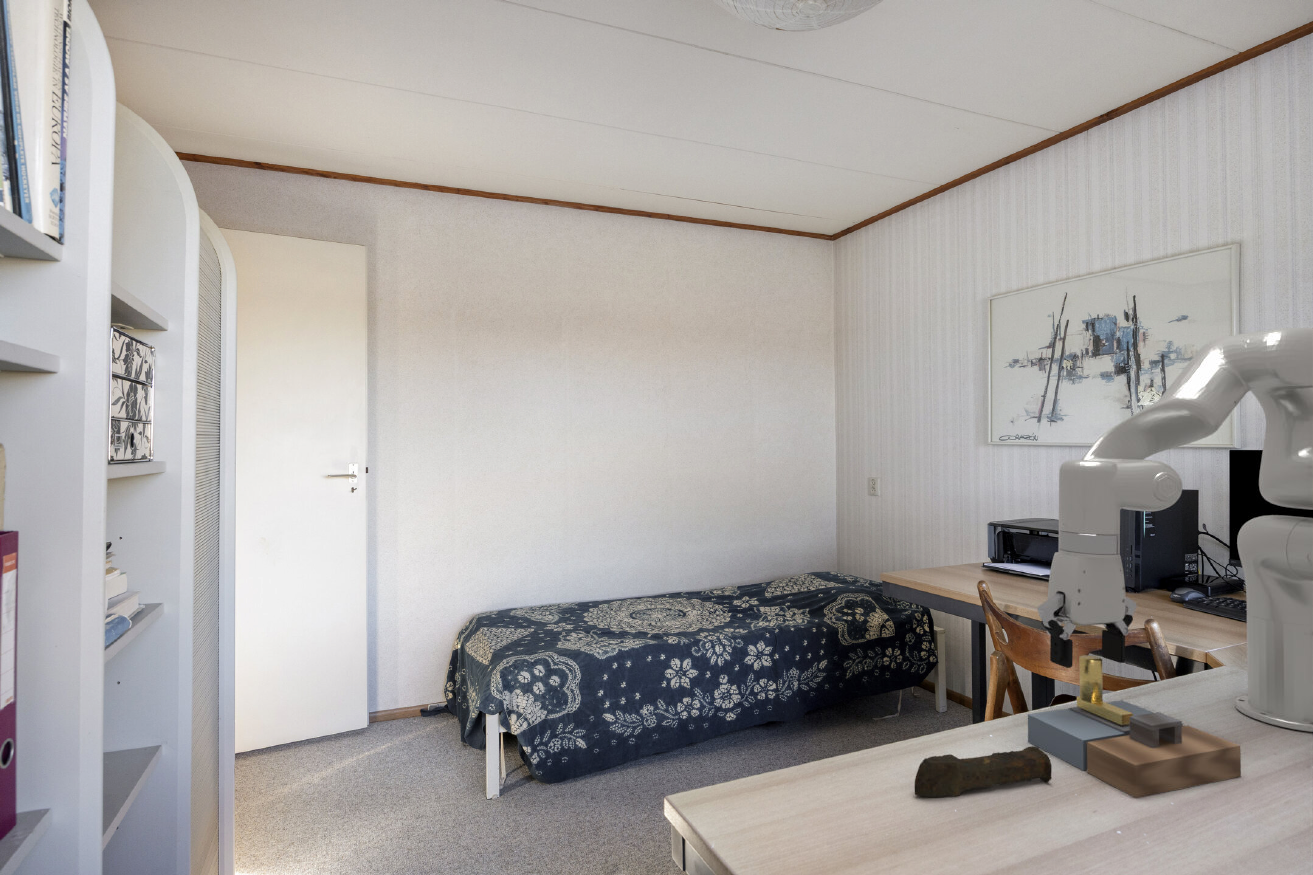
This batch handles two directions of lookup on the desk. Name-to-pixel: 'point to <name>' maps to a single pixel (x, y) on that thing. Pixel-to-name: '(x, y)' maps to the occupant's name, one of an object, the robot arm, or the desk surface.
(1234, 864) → the desk surface
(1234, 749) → the door jamb
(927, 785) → the hand tool
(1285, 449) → the robot arm
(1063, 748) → the door leaf
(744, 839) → the desk surface
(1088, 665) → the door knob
